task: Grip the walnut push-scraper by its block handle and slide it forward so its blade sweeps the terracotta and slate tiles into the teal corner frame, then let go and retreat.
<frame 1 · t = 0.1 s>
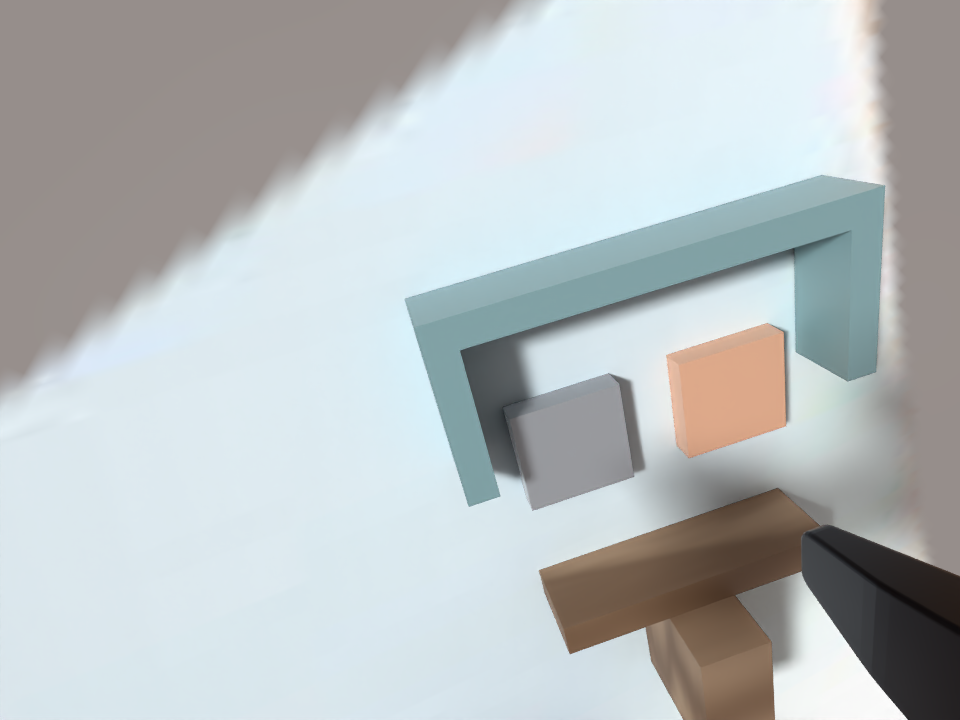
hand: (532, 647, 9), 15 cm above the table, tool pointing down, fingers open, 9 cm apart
tile terracotta: (715, 381, 27), on the table
tile slate: (562, 431, 26), on the table
scraper: (670, 603, 31), on the table
teal corner frame: (634, 337, 24), on the table
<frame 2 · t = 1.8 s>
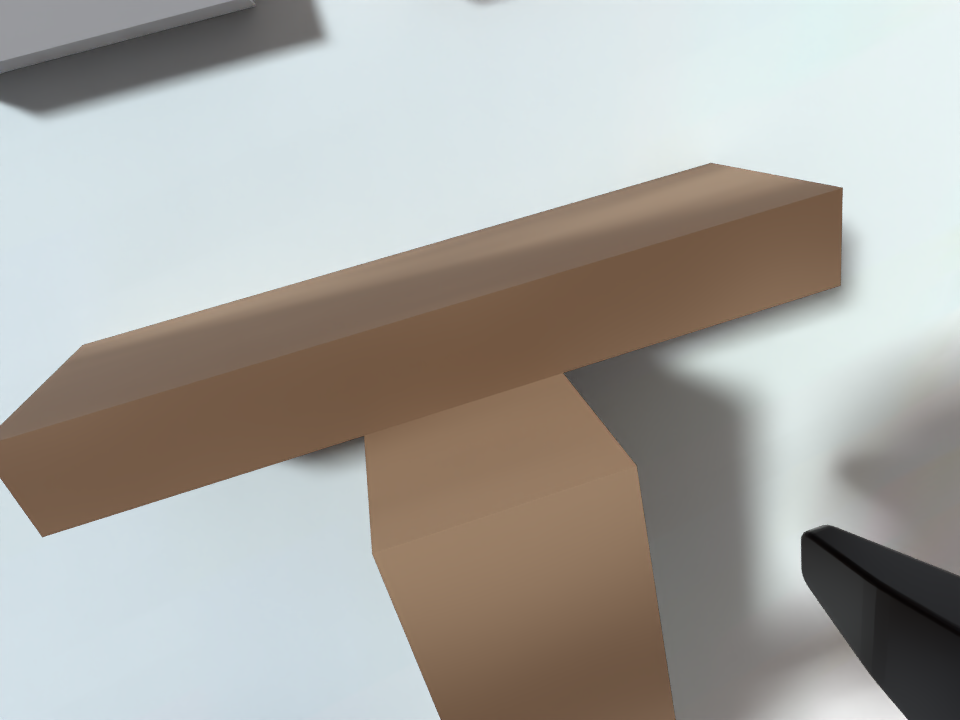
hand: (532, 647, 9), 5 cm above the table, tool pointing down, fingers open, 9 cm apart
scraper: (474, 466, 14), on the table
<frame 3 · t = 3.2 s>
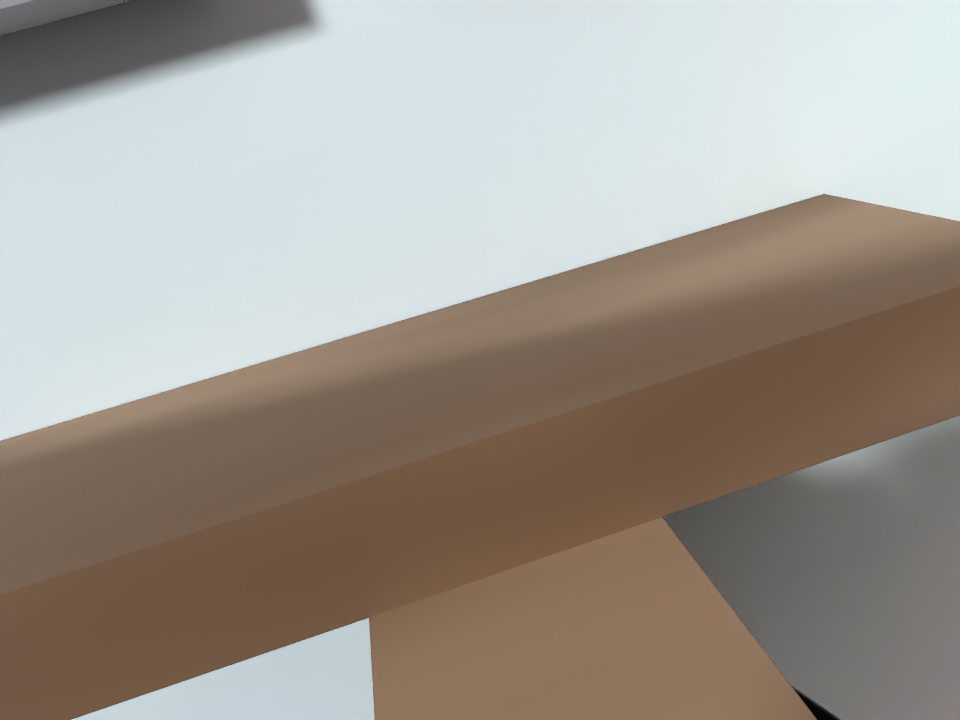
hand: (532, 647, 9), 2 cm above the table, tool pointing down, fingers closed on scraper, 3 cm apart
scraper: (507, 576, 11), on the table, touching gripper
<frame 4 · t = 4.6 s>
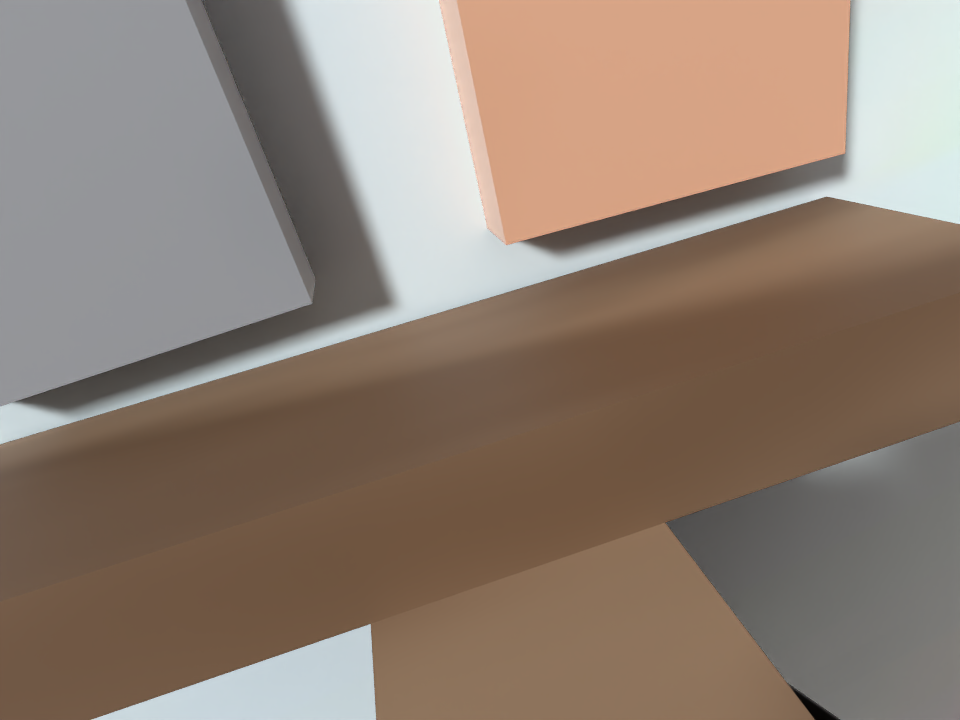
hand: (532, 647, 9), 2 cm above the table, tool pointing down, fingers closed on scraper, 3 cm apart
tile terracotta: (610, 9, 8), on the table
tile slate: (65, 155, 7), on the table
scraper: (508, 579, 11), on the table, touching gripper
when the fingers open (1 cm above the table, at t = 6.6 s): scraper stays where it is, on the table.
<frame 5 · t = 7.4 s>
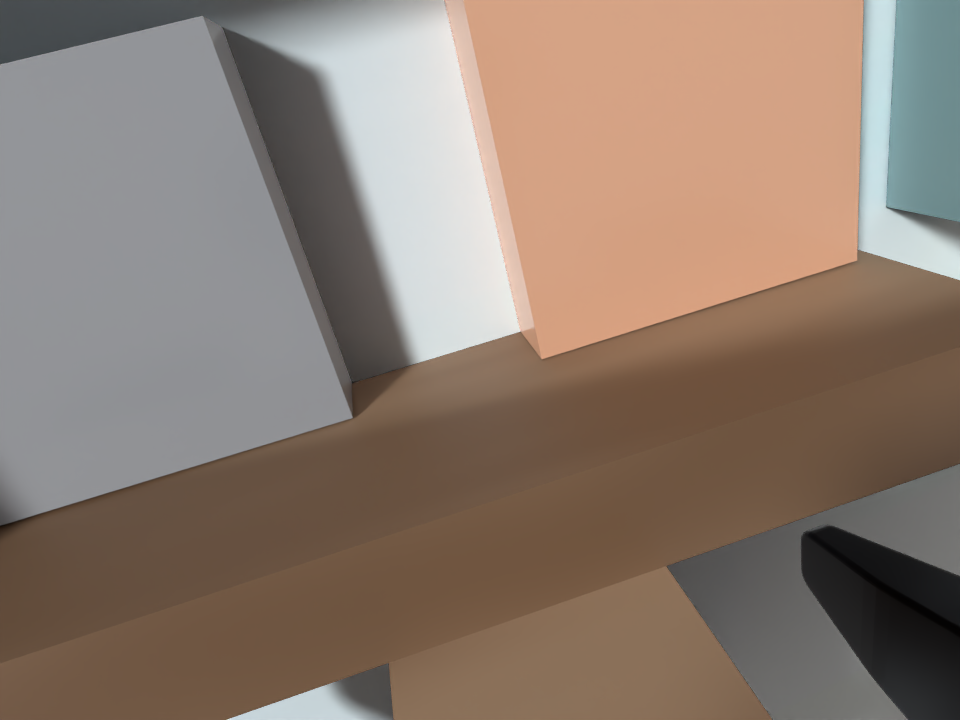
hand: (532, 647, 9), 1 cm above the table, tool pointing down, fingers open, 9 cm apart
tile terracotta: (632, 126, 9), on the table
tile slate: (125, 267, 8), on the table
scraper: (514, 602, 11), on the table
teal corner frame: (375, 120, 7), on the table
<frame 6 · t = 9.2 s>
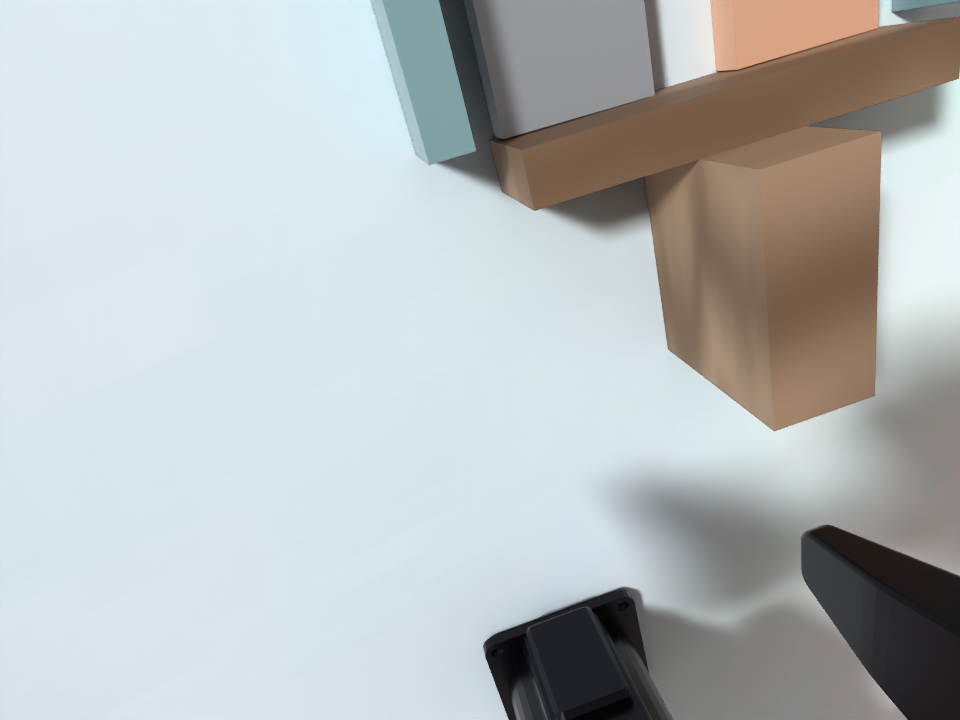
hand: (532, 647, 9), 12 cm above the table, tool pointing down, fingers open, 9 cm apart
tile slate: (547, 32, 18), on the table
scraper: (696, 242, 21), on the table
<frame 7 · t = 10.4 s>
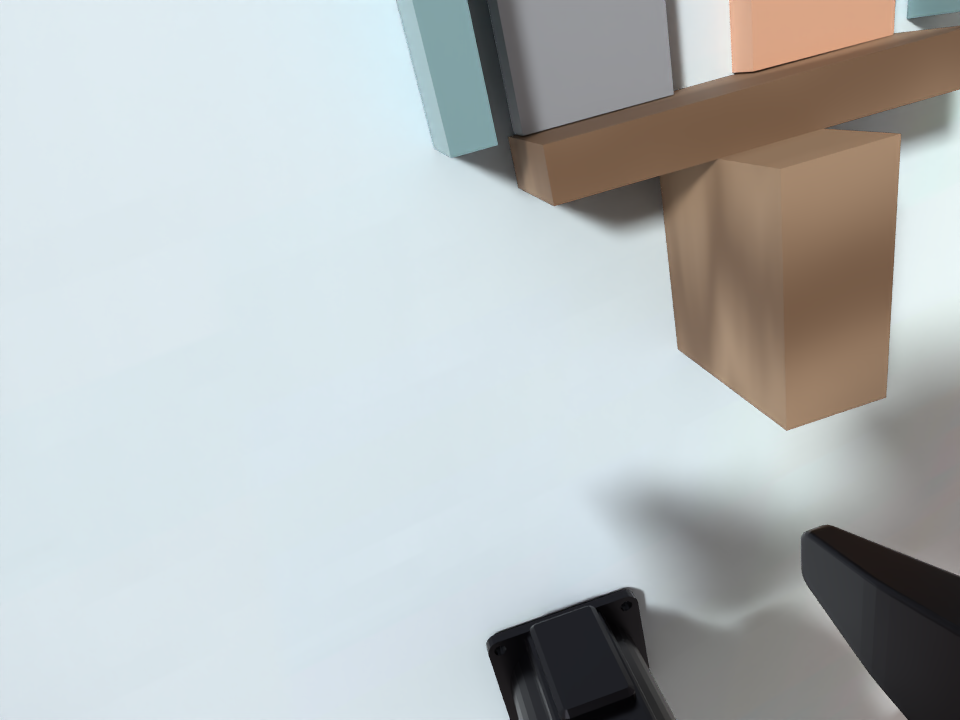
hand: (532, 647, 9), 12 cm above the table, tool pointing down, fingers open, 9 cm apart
tile slate: (568, 31, 18), on the table
scraper: (708, 243, 21), on the table
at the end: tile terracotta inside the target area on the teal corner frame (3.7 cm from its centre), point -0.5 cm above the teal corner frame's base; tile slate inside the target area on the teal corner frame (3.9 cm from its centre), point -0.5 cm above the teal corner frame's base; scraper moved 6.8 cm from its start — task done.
